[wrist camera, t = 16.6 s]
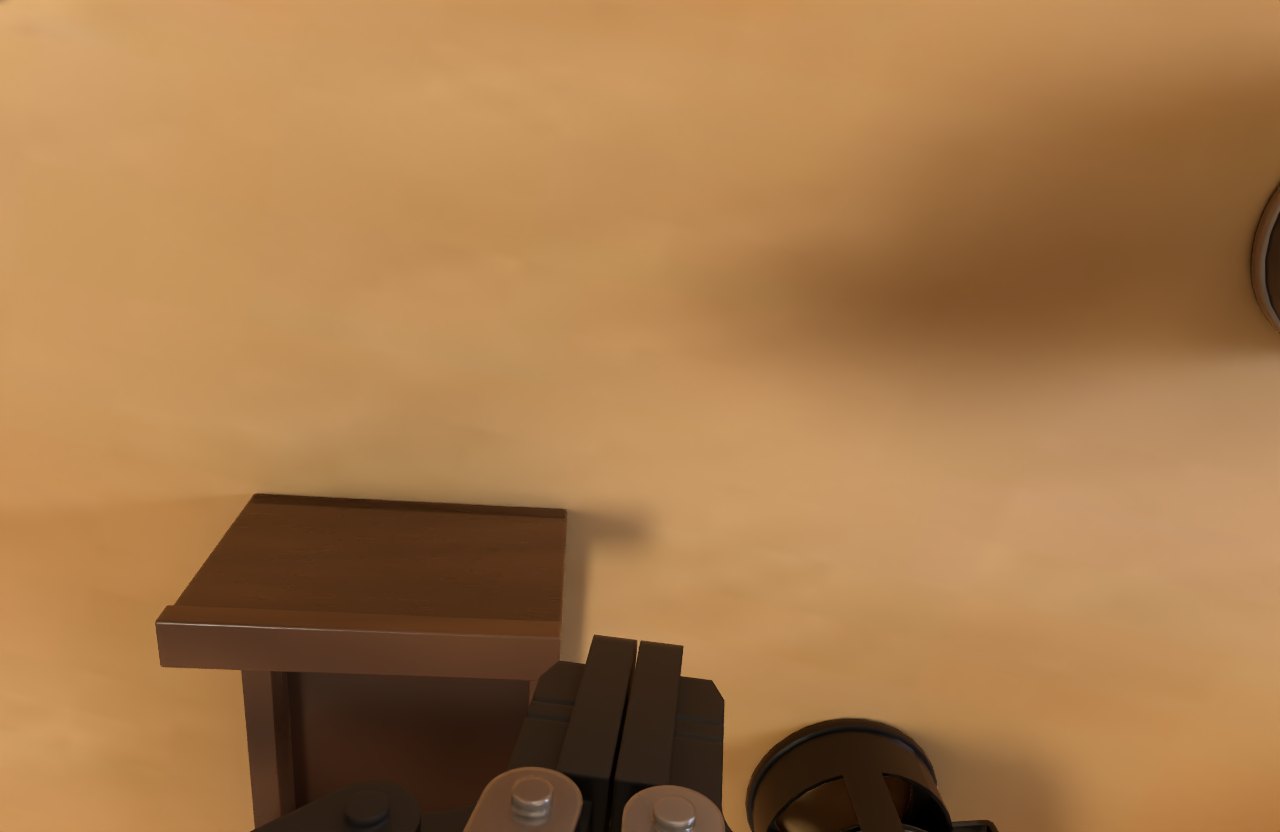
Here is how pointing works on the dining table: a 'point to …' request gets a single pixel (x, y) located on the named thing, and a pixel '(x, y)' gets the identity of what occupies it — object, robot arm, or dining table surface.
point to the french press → (853, 778)
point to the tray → (392, 584)
